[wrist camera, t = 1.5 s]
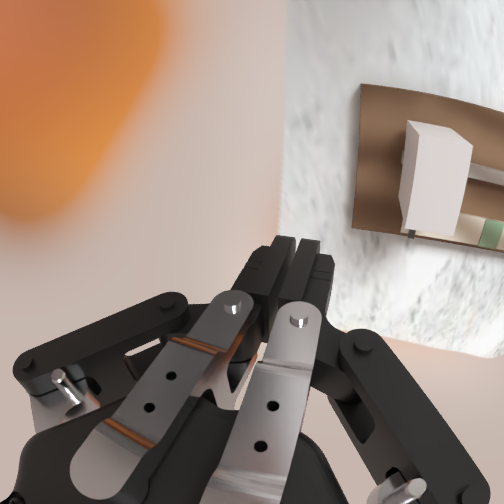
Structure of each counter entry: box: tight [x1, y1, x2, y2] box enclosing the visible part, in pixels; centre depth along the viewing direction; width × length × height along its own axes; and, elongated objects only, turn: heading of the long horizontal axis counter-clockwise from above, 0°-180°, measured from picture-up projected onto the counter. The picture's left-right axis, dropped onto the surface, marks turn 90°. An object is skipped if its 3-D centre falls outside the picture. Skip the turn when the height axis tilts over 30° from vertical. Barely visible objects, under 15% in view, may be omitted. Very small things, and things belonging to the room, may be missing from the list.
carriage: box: [398, 120, 473, 239], centre depth 22 cm, size 11×4×6 cm, turn 3°
